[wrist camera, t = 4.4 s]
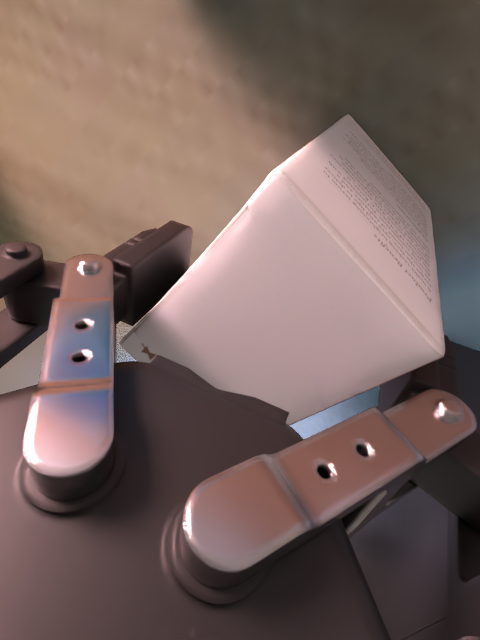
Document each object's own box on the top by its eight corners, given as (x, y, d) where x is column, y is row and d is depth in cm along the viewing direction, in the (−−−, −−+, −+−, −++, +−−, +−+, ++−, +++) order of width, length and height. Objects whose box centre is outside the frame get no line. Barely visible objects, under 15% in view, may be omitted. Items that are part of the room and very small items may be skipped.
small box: (303, 303, 21) (232, 455, 13) (233, 231, 20) (111, 347, 12) (436, 209, 16) (455, 363, 8) (350, 107, 15) (274, 166, 7)
